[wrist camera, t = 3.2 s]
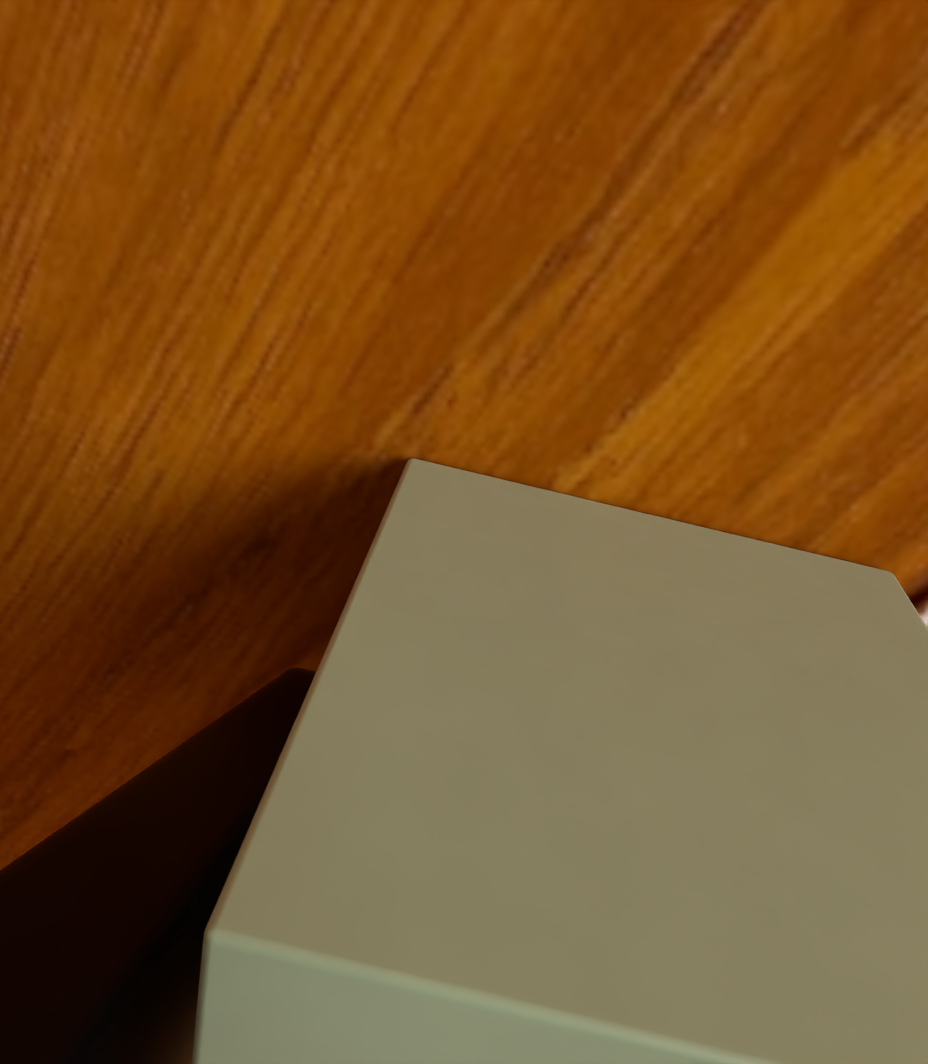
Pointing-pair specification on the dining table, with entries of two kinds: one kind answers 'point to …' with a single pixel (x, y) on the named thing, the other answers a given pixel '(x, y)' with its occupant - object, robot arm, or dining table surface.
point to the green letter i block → (587, 804)
